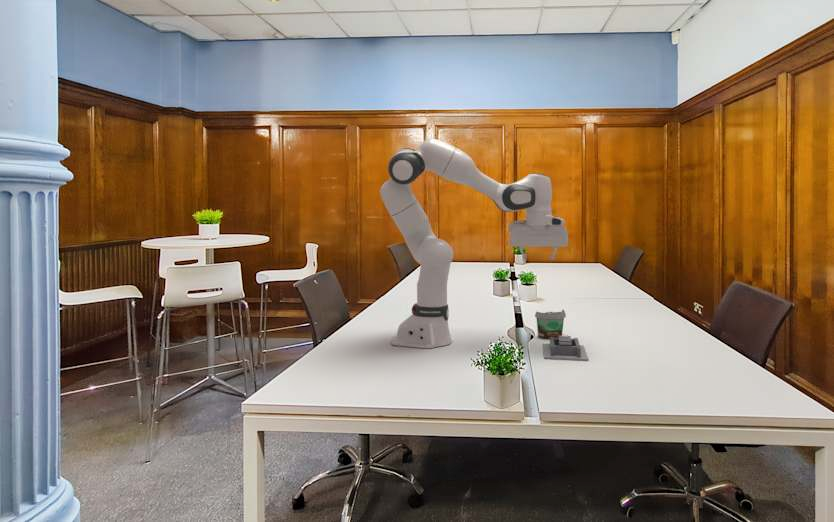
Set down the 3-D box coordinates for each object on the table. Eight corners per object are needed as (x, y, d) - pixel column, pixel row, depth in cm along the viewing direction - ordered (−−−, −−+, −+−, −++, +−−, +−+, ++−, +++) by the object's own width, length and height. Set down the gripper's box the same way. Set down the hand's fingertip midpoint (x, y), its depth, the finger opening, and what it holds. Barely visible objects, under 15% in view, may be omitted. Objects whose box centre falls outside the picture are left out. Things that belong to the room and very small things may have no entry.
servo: (559, 354, 174) (559, 339, 173) (558, 347, 182) (558, 333, 182) (571, 355, 173) (571, 340, 172) (570, 347, 182) (570, 333, 181)
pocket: (543, 358, 171) (544, 348, 171) (542, 345, 187) (543, 335, 187) (588, 361, 168) (588, 350, 168) (583, 347, 184) (583, 337, 184)
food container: (542, 341, 193) (542, 314, 192) (534, 337, 199) (534, 311, 198) (572, 338, 196) (572, 312, 195) (563, 334, 202) (563, 309, 201)
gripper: (508, 220, 182) (508, 260, 183) (569, 220, 177) (568, 260, 179) (508, 220, 188) (508, 258, 189) (567, 219, 184) (567, 258, 185)
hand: (538, 259), depth 184 cm, fingers open, 8 cm apart
